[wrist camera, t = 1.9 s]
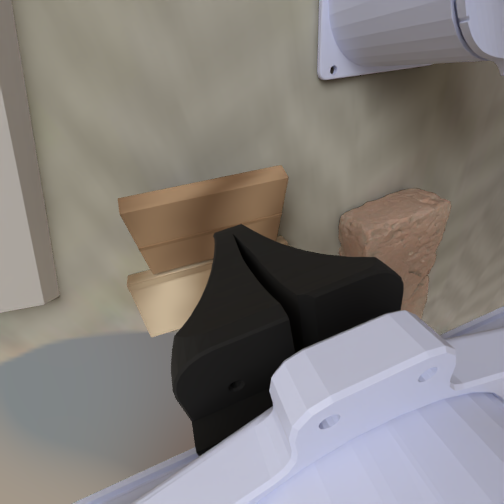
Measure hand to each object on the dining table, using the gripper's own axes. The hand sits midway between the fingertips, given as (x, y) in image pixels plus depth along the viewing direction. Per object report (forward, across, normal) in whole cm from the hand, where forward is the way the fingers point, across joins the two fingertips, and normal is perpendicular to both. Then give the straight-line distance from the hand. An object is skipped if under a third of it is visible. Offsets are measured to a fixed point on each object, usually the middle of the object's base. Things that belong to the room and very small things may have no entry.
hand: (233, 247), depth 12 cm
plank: (+8, 0, +2) cm, 8 cm away
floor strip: (+9, +1, +9) cm, 13 cm away
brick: (+10, -15, +14) cm, 23 cm away
